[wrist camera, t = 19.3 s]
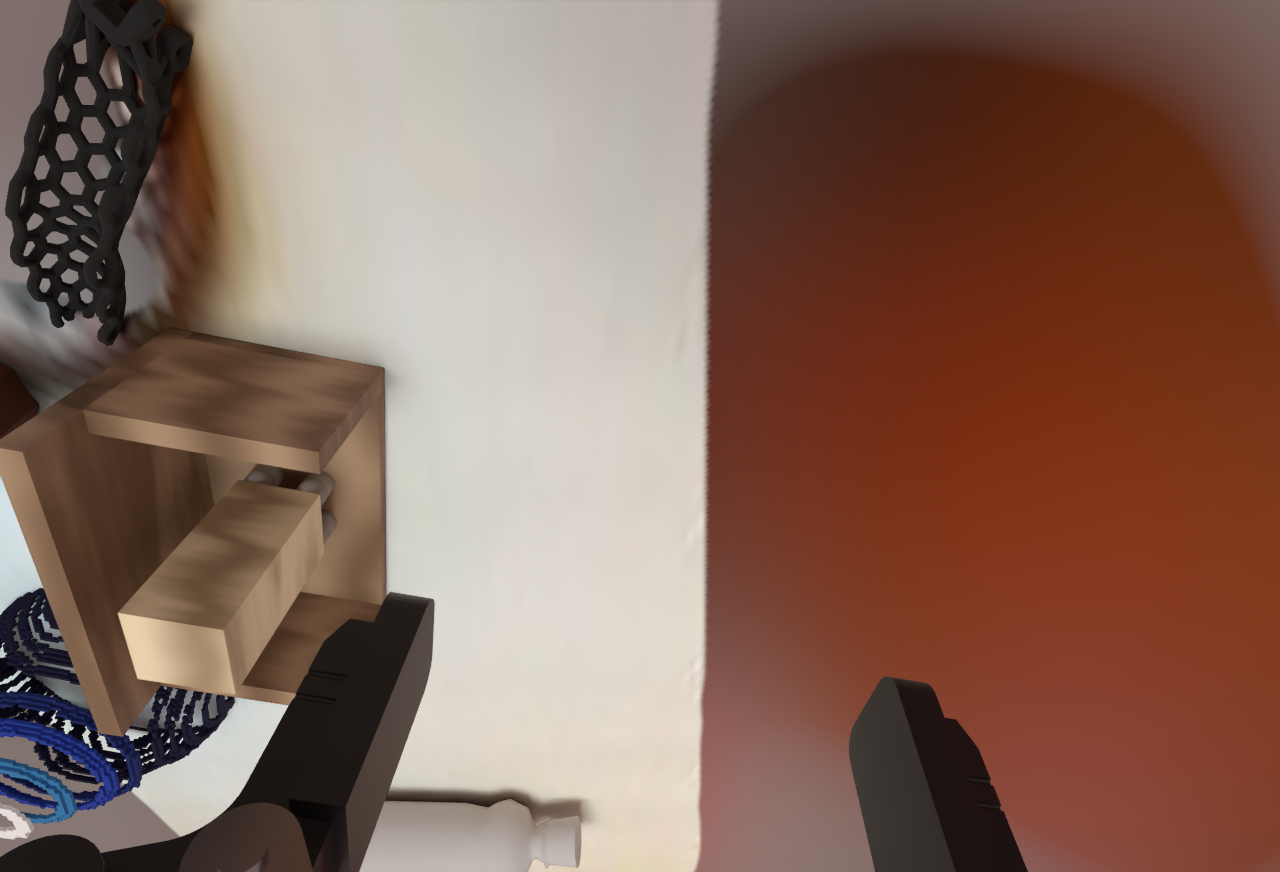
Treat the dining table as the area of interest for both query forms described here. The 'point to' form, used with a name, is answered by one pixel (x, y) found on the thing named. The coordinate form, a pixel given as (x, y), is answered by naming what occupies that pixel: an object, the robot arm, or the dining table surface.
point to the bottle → (468, 838)
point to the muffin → (14, 402)
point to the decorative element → (94, 153)
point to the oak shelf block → (225, 588)
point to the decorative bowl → (77, 728)
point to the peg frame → (197, 495)
